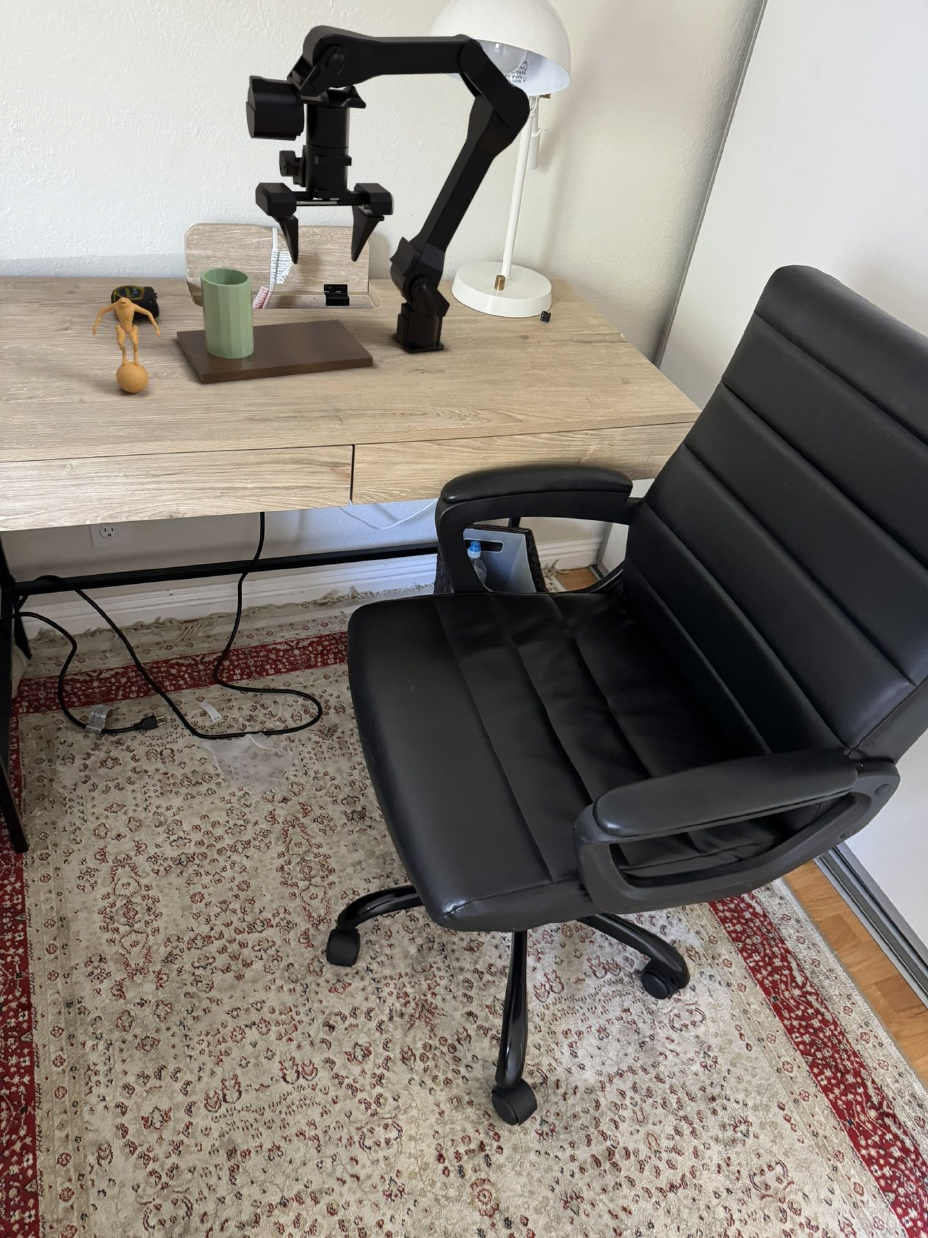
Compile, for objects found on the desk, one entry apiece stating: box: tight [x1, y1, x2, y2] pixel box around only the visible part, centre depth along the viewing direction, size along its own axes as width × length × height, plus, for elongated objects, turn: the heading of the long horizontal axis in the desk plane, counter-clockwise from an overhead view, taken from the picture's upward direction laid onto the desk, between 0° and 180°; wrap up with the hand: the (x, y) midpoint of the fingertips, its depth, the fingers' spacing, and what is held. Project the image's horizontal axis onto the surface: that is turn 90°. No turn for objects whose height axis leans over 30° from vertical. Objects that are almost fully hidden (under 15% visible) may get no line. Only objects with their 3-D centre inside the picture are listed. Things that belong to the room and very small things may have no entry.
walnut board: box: [176, 319, 374, 385], centre depth 122 cm, size 26×14×2 cm, turn 118°
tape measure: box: [110, 284, 160, 321], centre depth 125 cm, size 7×7×4 cm
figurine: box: [92, 297, 162, 394], centre depth 106 cm, size 8×6×12 cm
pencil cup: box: [199, 266, 254, 359], centre depth 115 cm, size 7×7×10 cm
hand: (324, 261), depth 118 cm, fingers open, 9 cm apart
